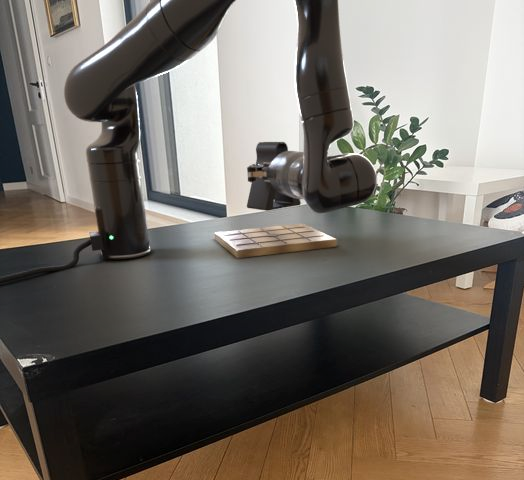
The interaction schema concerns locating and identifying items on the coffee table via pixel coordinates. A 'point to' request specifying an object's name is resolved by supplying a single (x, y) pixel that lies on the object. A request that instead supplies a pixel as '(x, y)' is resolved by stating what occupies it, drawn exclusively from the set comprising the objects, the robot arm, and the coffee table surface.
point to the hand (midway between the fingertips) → (266, 168)
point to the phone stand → (263, 191)
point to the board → (273, 240)
